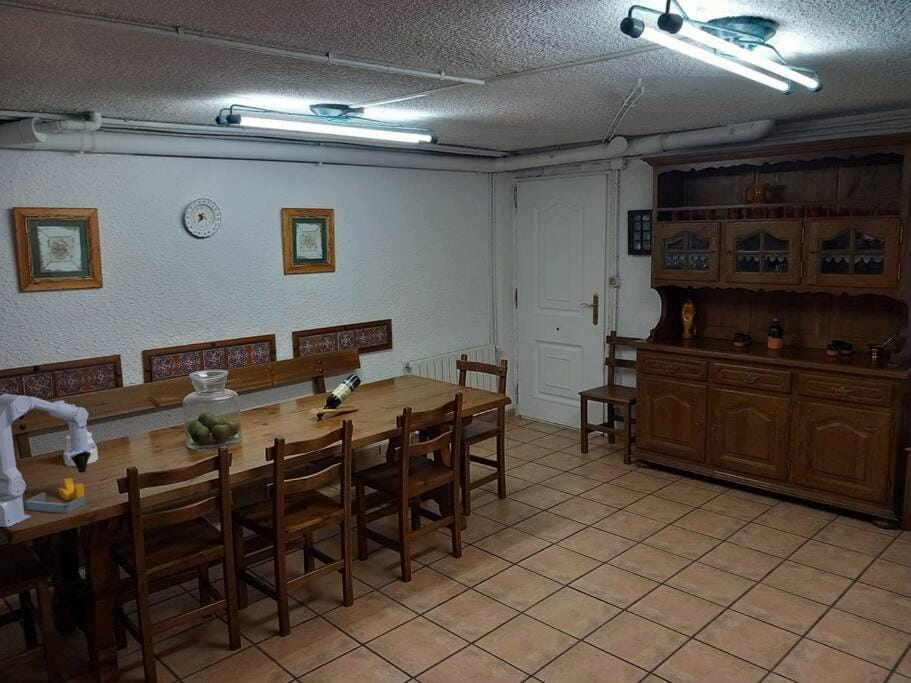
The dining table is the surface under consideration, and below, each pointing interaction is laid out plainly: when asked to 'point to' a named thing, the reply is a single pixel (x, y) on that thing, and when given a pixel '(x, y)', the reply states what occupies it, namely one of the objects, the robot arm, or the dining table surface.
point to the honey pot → (93, 452)
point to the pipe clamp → (71, 490)
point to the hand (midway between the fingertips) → (82, 471)
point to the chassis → (52, 504)
